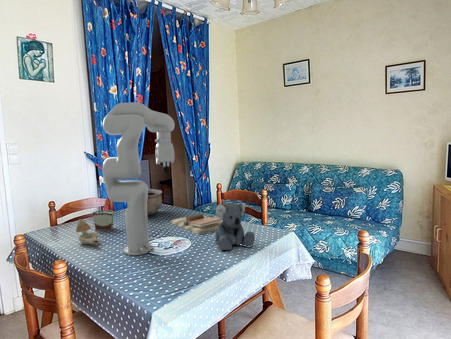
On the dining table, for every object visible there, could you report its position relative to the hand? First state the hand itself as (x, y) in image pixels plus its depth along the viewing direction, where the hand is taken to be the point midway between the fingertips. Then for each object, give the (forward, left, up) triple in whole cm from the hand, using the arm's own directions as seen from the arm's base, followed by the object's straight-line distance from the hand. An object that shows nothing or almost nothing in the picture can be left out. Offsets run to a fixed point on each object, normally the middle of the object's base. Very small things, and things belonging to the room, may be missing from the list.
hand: (165, 173), depth 177 cm
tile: (-20, -12, -25) cm, 34 cm away
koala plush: (-50, -6, -29) cm, 58 cm away
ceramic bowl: (+28, +1, -29) cm, 41 cm away
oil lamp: (-2, +44, -29) cm, 53 cm away
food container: (+16, +30, -29) cm, 45 cm away
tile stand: (-14, -12, -29) cm, 34 cm away
